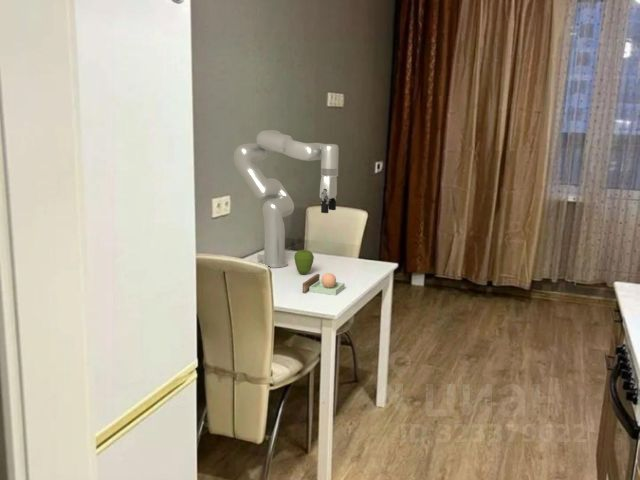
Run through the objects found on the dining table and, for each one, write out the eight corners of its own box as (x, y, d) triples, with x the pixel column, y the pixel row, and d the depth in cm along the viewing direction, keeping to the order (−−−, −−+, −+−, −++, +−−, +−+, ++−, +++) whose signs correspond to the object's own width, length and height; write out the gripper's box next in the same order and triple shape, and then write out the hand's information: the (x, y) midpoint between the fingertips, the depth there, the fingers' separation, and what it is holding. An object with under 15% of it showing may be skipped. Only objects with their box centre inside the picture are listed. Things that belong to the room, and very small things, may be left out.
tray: (309, 291, 243) (309, 287, 243) (319, 284, 254) (319, 280, 253) (335, 295, 240) (335, 290, 239) (344, 288, 250) (344, 283, 249)
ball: (318, 284, 245) (321, 270, 247) (322, 288, 250) (325, 275, 252) (332, 285, 243) (335, 272, 245) (336, 290, 248) (339, 277, 250)
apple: (295, 276, 265) (295, 251, 263) (293, 272, 274) (293, 247, 271) (314, 276, 267) (315, 251, 264) (312, 271, 275) (312, 246, 273)
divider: (302, 293, 242) (302, 283, 241) (316, 283, 257) (316, 273, 256) (305, 293, 241) (305, 283, 241) (319, 283, 256) (319, 274, 255)
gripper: (328, 170, 273) (327, 208, 276) (314, 173, 257) (313, 213, 260) (343, 171, 270) (342, 209, 273) (330, 174, 254) (329, 215, 258)
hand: (328, 211), depth 267 cm, fingers open, 9 cm apart
